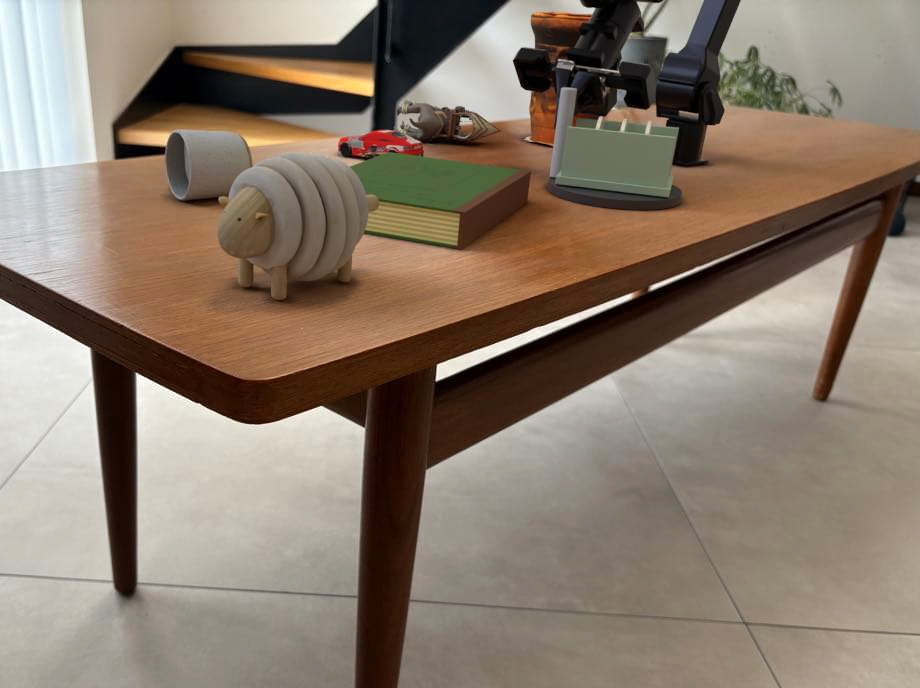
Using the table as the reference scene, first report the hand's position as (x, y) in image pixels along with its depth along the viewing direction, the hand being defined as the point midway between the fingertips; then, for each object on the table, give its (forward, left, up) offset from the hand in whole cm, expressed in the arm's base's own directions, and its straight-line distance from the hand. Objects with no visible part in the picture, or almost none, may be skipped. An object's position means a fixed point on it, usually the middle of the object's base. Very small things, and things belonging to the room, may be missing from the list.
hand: (556, 128), depth 114 cm
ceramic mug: (+44, -13, -7) cm, 47 cm away
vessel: (-27, -23, -7) cm, 37 cm away
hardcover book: (+25, +4, -7) cm, 26 cm away
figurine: (-9, -31, -7) cm, 34 cm away
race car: (+11, -23, -7) cm, 27 cm away
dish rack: (-4, +7, -6) cm, 10 cm away
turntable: (-4, +8, -7) cm, 11 cm away
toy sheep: (+51, +20, -7) cm, 55 cm away
